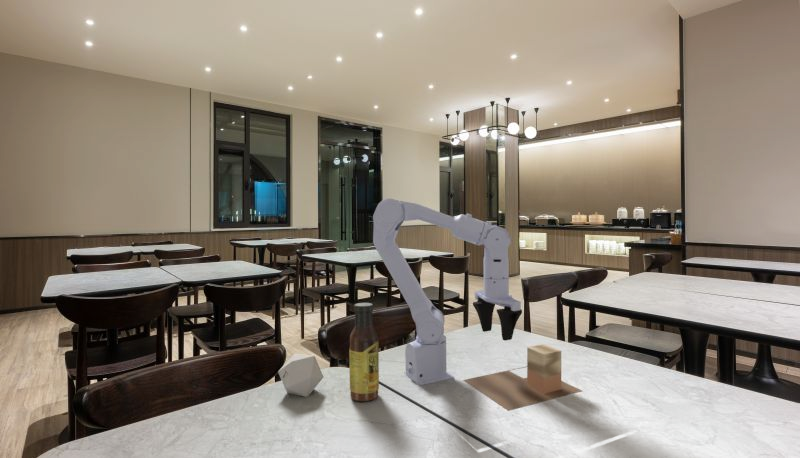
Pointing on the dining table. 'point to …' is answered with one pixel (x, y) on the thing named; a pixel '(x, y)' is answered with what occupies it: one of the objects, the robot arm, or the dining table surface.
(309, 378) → the die
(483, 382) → the build board
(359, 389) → the sauce bottle
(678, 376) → the dining table surface
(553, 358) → the maple block
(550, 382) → the terracotta base block
